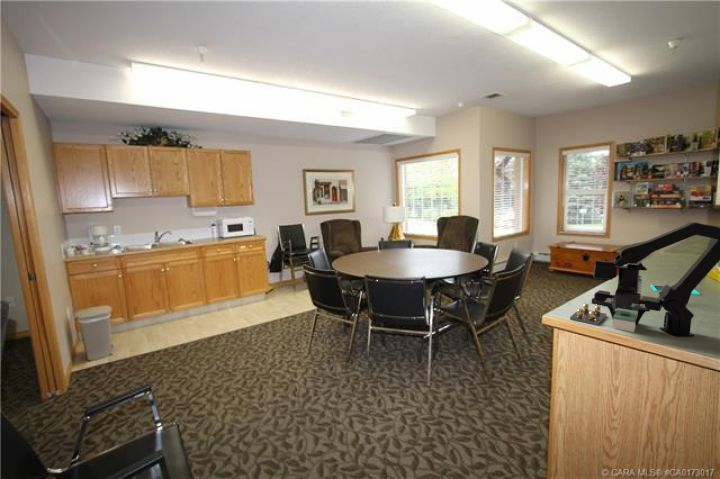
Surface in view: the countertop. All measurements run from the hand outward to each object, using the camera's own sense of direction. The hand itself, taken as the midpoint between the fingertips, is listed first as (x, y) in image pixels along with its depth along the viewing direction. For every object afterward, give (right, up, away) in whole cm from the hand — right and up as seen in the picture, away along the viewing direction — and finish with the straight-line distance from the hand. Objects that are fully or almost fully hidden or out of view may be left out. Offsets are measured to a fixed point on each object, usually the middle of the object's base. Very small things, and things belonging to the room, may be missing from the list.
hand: (625, 322), depth 122 cm
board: (0, -1, 0) cm, 1 cm away
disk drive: (+13, +1, +22) cm, 25 cm away
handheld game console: (+54, +5, +38) cm, 66 cm away
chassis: (-8, 0, +8) cm, 11 cm away
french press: (+28, +4, +33) cm, 43 cm away
